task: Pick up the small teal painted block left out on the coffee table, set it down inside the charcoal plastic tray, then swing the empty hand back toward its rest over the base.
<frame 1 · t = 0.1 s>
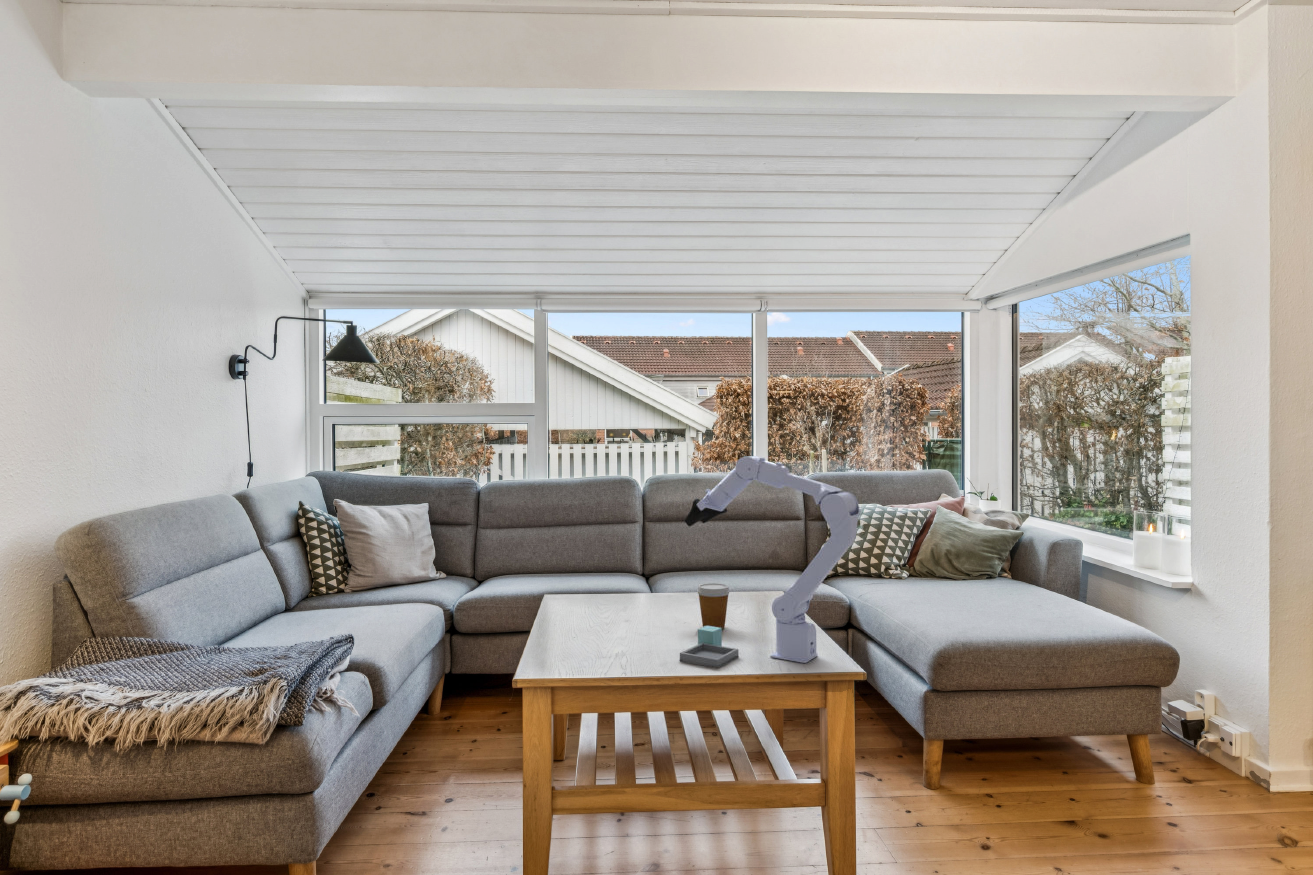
hand: (694, 522, 195), 32 cm above the table, tool tilted 50°, fingers open, 7 cm apart
tray: (709, 659, 177), on the table
teal block: (709, 647, 187), on the table
disposable coffee cup: (713, 628, 207), on the table
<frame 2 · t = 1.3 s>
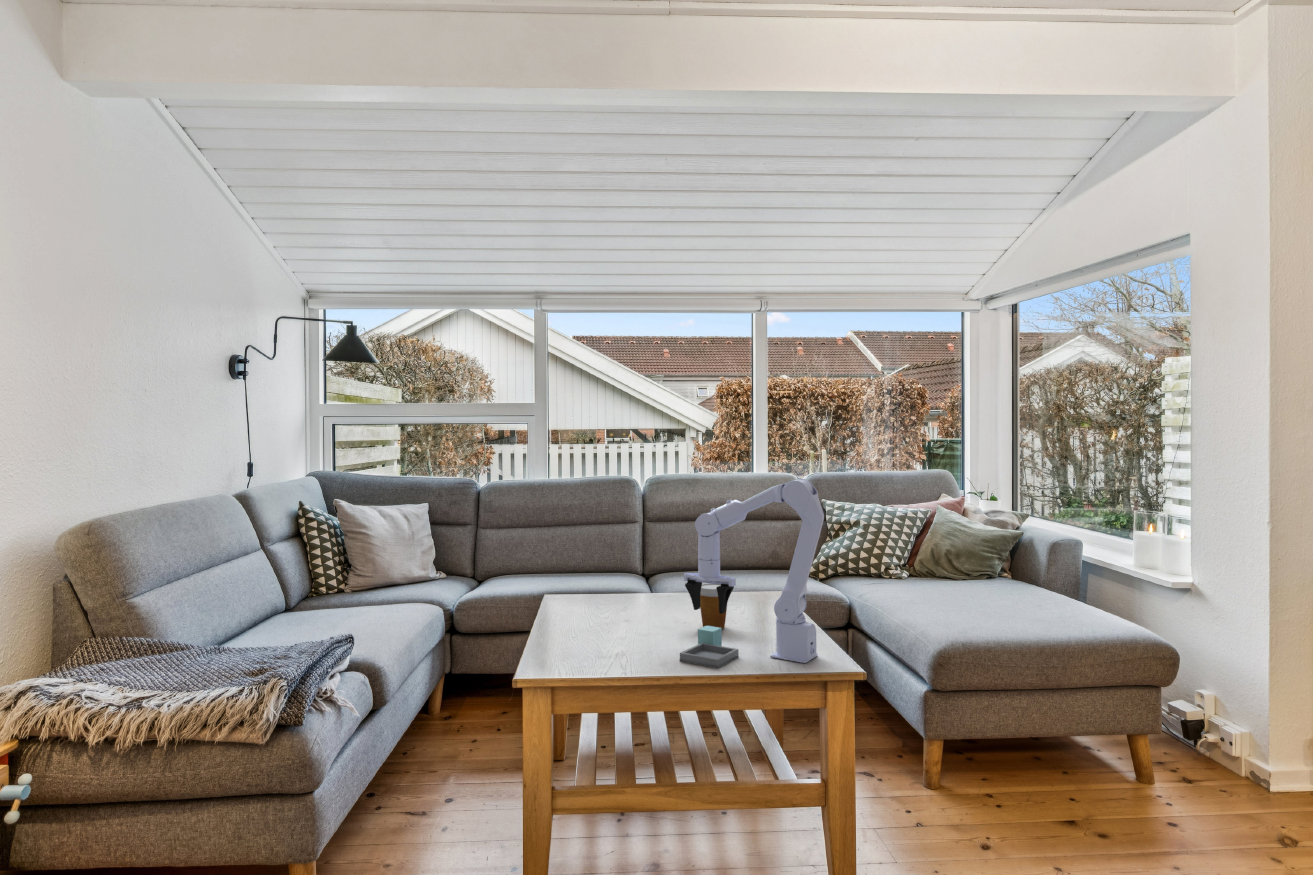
hand: (709, 610, 187), 9 cm above the table, tool pointing down, fingers open, 7 cm apart
nothing on the table moved.
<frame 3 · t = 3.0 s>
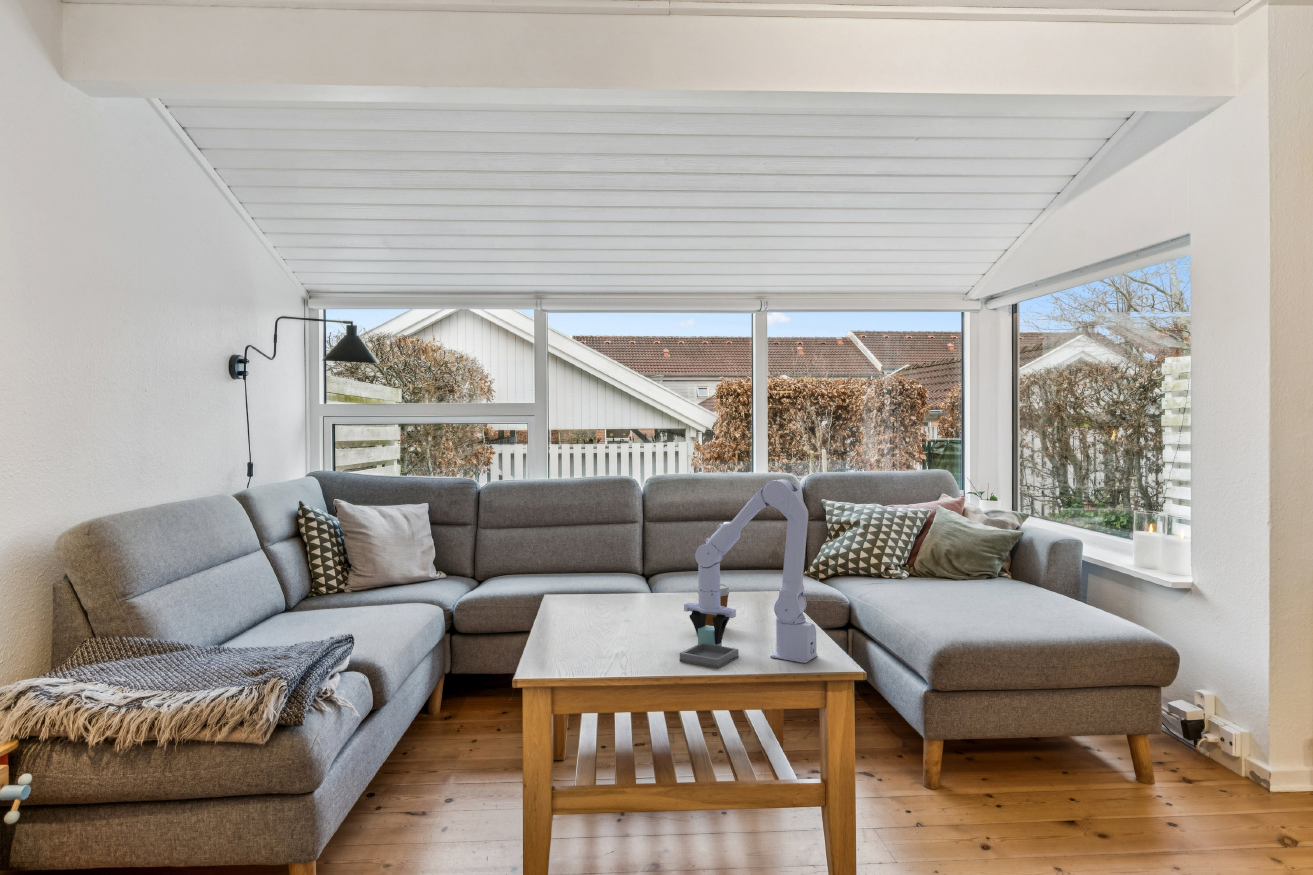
hand: (709, 641, 187), 1 cm above the table, tool pointing down, fingers closed on teal block, 4 cm apart
teal block: (709, 647, 187), on the table, touching gripper
everything else where it was.
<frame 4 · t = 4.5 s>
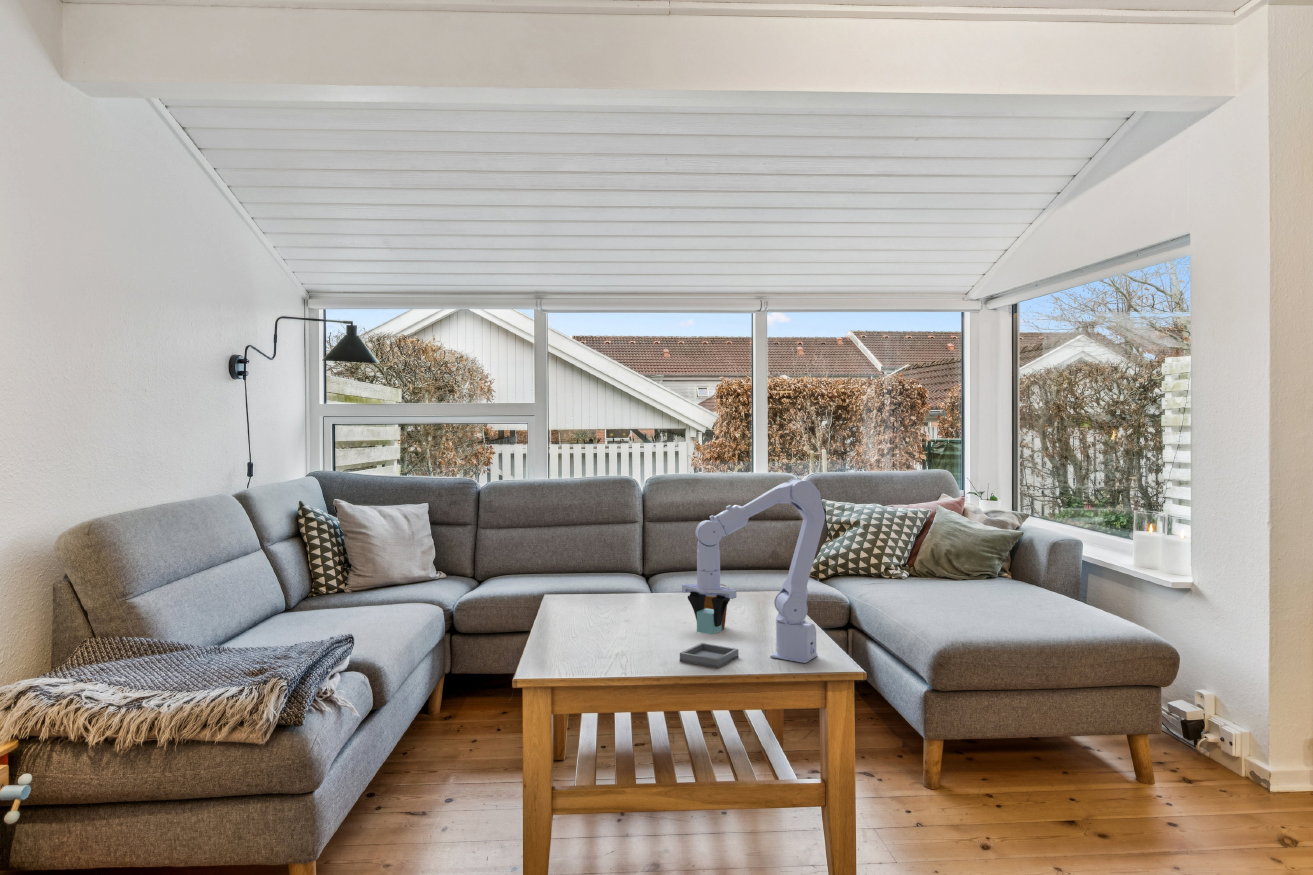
hand: (709, 624, 178), 8 cm above the table, tool pointing down, fingers closed on teal block, 4 cm apart
teal block: (709, 631, 178), point 7 cm above the table, touching gripper
everything else where it was.
when the fingers open (4 cm above the table, at t = 5.8 s): teal block drops 2 cm, resting on tray.
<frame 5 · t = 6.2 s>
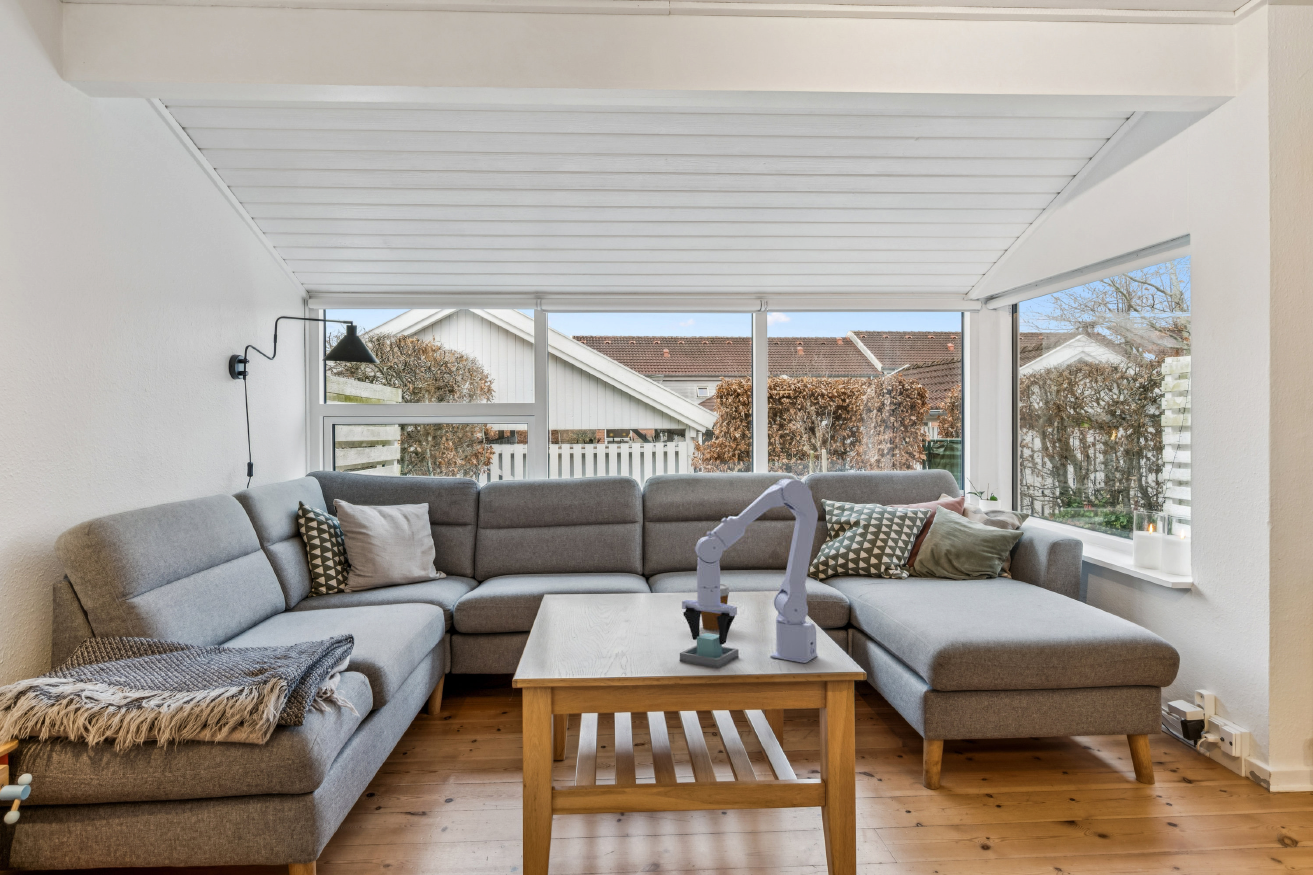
hand: (709, 641, 177), 4 cm above the table, tool pointing down, fingers open, 7 cm apart
teal block: (709, 656, 177), point 1 cm above the table, touching tray
everything else where it was.
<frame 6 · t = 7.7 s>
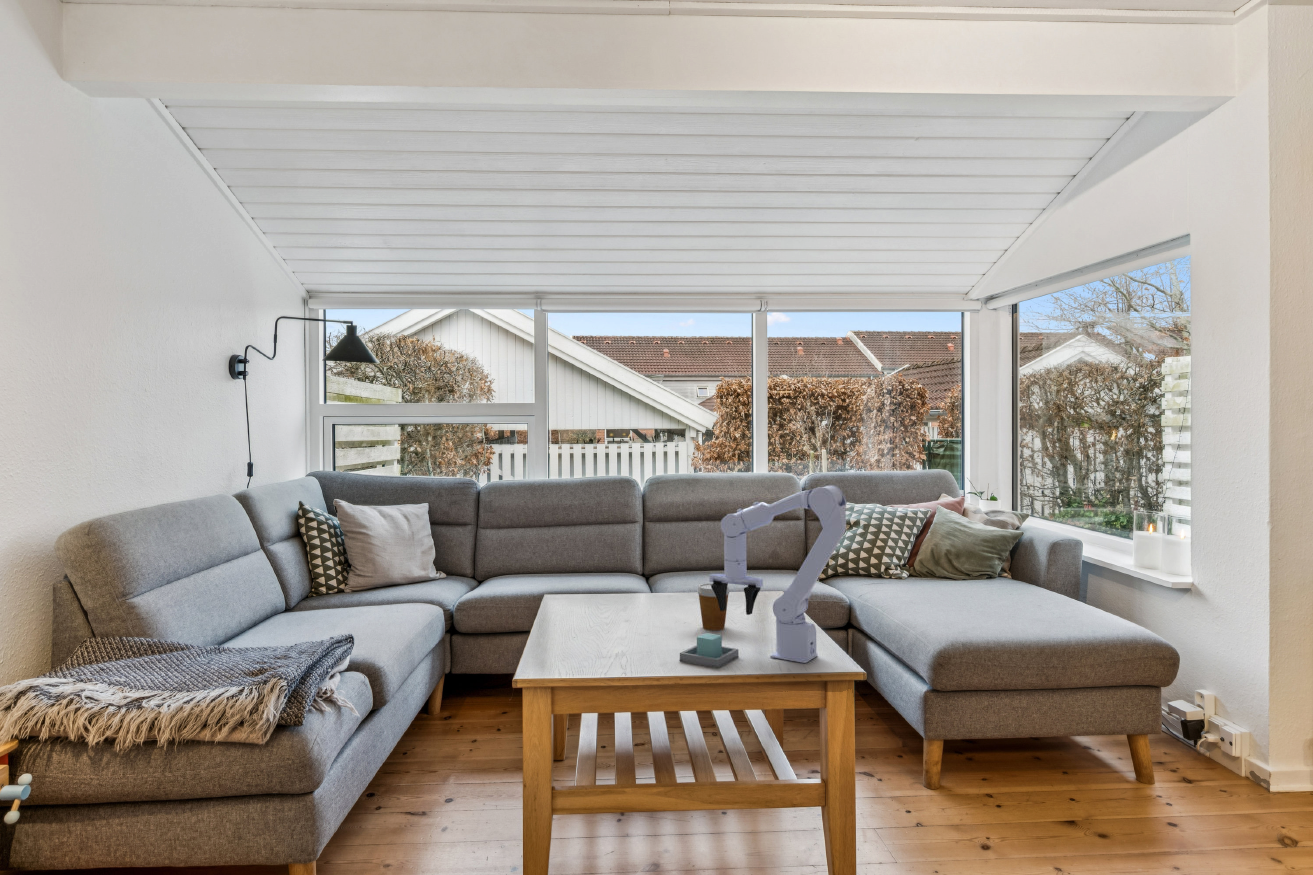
hand: (735, 612, 186), 9 cm above the table, tool pointing down, fingers open, 7 cm apart
nothing on the table moved.
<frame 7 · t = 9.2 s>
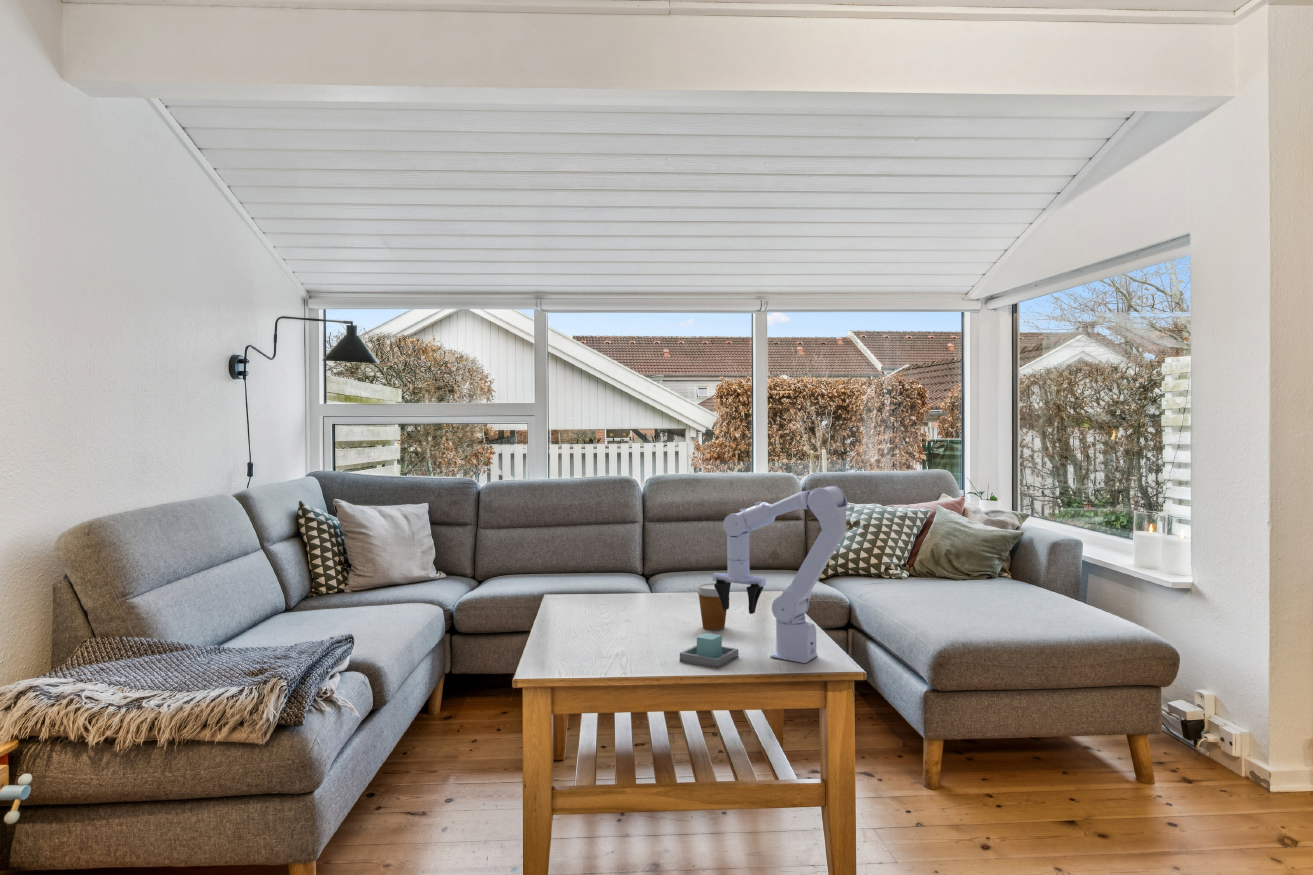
hand: (738, 611, 187), 9 cm above the table, tool pointing down, fingers open, 7 cm apart
nothing on the table moved.
at the end: teal block inside the target area on the tray (0.1 cm from its centre), point 0.6 cm above the tray's base; teal block tilted 0°; the gripper is holding nothing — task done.
